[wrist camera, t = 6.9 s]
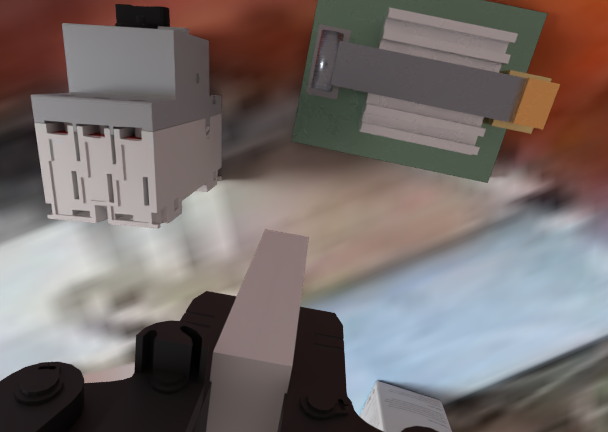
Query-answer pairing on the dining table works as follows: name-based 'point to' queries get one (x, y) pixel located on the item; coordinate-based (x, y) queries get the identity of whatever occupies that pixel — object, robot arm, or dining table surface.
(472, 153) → the circuit board
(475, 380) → the dining table surface
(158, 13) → the circuit breaker
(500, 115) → the silver elongated bar
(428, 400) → the skincare box
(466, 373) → the dining table surface
